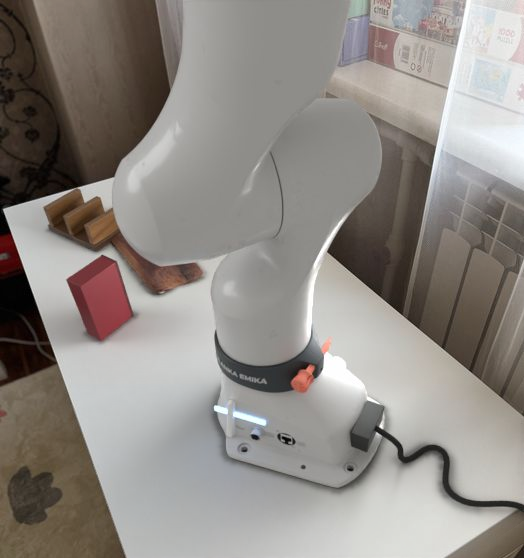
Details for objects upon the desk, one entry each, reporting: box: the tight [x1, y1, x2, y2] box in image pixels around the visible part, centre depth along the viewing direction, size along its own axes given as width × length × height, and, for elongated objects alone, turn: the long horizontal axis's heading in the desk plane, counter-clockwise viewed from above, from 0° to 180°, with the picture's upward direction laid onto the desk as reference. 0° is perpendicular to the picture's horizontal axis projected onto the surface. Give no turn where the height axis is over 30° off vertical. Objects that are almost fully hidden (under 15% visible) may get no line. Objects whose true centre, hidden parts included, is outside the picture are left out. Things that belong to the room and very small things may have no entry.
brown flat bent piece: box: [110, 232, 203, 295], centre depth 100 cm, size 26×2×10 cm
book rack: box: [42, 187, 121, 253], centre depth 104 cm, size 14×9×5 cm, turn 54°
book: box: [65, 254, 135, 342], centre depth 82 cm, size 3×7×11 cm, turn 144°
